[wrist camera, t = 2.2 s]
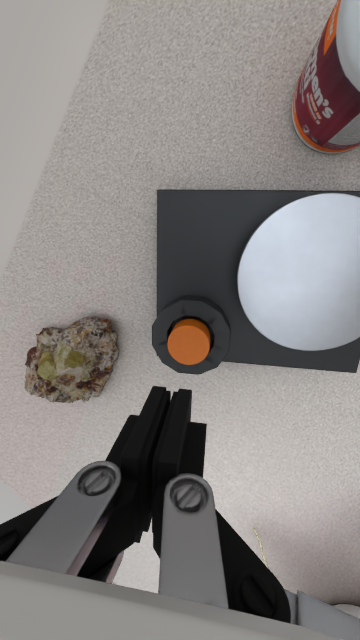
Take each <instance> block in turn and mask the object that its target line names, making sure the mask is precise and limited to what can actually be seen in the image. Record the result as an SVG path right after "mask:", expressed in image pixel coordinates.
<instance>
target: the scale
mask: <svg viewBox="0 0 360 640" xmlns="http://www.w3.org/2000/svg"><path fill="white" fill-rule="evenodd" d="M320 193H344V194H349V195H353V196H357V197H360V191H297V190H157V319H156V320H155V322H154V324H153V326H152V345H153V348H154V349H155V351H156V353H157V356H159V358H160V360H161V361H162V363H164V364H166V365H167V366H169V367H170V368H172V369H173V370H175V371H177V372H178V373H188V374H202V373H204V372H206V371H209V370H211V369H214V368H216V367H218V365H219V364H220V363H221V361H224V362H235V363H247V364H258V365H270V366H281V367H293V368H304V369H316V370H327V371H339V372H350V373H356V372H357V368H358V364H359V360H360V337H359V338H357V339H356V340H354V341H351V342H349V343H347V344H345V345H342V346H339V347H335V348H331V349H326V350H318V351H303V350H296V349H292V348H288V347H284V346H282V345H279V344H277V343H275V342H273V341H271V340H269V339H268V338H266V337H265V336H264V335H262V334H261V333H260V332H259V331H258V330H257V329H256V328H255V327H254V326H253V325H252V323H251V322H250V321H249V320H248V318H247V316H246V314H245V313H244V310H243V308H242V306H241V303H240V300H239V296H238V290H237V271H238V264H239V261H240V257H241V254H242V252H243V250H244V247H245V245H246V243H247V242H248V240H249V238H250V236H251V235H252V234H253V232H254V231H255V230H256V228H257V227H258V226H259V225H260V224H261V223H262V222H263V221H264V220H265V219H266V218H267V217H268V216H270V215H271V214H272V213H273V212H275V211H276V210H278V209H280V208H281V207H283V206H284V205H286V204H288V203H290V202H293V201H295V200H297V199H300V198H303V197H306V196H309V195H314V194H320ZM184 319H196V320H199V321H201V322H202V323H204V324H205V325H206V327H207V328H208V330H209V332H210V349H209V353H208V355H207V356H206V358H205V359H204V360H203V361H201V362H199V363H197V364H193V365H186V364H182V363H179V362H178V361H176V360H175V359H174V358H173V357H172V356H171V354H170V353H169V350H168V345H167V343H168V338H169V336H170V334H171V332H172V330H173V328H174V326H175V325H176V324H177V323H178V322H180V321H181V320H184Z"/></svg>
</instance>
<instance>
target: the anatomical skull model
mask: <svg viewBox="0 0 360 640" xmlns="http://www.w3.org/2000/svg"><path fill="white" fill-rule="evenodd" d="M253 531H254V532H255V534H256V536H257V538H258V541H259V544H260V548H261V552H262V556H263V560H264V562H265V565H266V567H267V568H268V565H267V562H266V560H265V557H264V553H263V548H262V544H261V541H260V539H259V537H258V535H257V533H256V531H255V529H254V528H253ZM268 569H269V568H268ZM331 606H333V607H335V608H338V609H340V610H342V611H344V612H346V613H348V614H351V615H353V616H355V617H357V618H359V619H360V607H358V606H354V605H350V604H337V605H331Z"/></svg>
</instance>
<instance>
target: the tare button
mask: <svg viewBox="0 0 360 640" xmlns="http://www.w3.org/2000/svg"><path fill="white" fill-rule="evenodd" d="M167 345H168V350H169V353H170V354H171V356H172V357H173V358H174V359H175V360H176V361H178V362H179V363H182V364H186V365H193V364H197V363H199V362H201V361H203V360H204V359H205V358H206V356H207V355H208V353H209V349H210V332H209V330H208V328H207V327H206V325H205V324H204V323H202V322H201V321H199V320H196V319H184V320H181V321H180V322H178V323H177V324H176V325H175V326H174V328H173V330H172V332H171V334H170V336H169V338H168V343H167Z"/></svg>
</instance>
